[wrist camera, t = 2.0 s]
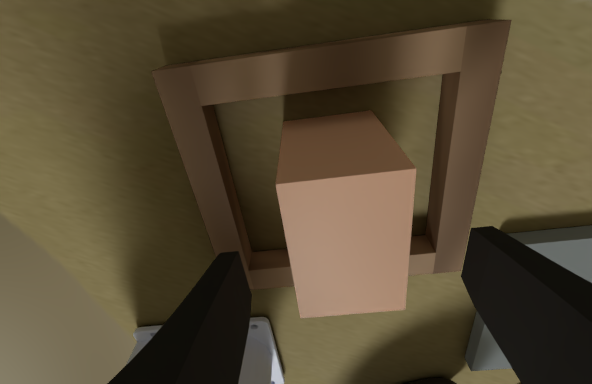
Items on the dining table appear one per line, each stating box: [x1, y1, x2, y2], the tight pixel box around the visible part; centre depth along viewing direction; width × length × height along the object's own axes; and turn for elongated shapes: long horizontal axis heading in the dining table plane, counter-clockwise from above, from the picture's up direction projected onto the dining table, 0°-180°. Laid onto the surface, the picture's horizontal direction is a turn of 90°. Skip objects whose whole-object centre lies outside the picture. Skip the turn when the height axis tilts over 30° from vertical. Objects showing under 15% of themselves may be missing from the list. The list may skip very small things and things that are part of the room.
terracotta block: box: [276, 110, 416, 318], centre depth 13 cm, size 4×6×6 cm, turn 7°
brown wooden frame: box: [151, 19, 511, 290], centre depth 15 cm, size 13×12×2 cm
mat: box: [465, 225, 592, 371], centre depth 19 cm, size 12×12×1 cm
